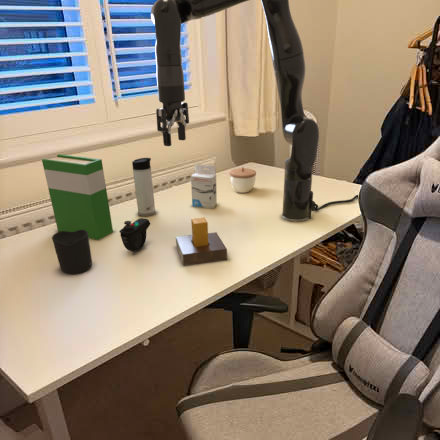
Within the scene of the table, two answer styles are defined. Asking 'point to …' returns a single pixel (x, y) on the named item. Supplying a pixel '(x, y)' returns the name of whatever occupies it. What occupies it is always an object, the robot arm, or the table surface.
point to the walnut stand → (201, 250)
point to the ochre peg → (199, 232)
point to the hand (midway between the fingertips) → (175, 142)
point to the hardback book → (78, 195)
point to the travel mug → (143, 186)
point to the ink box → (204, 186)
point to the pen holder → (73, 251)
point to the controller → (134, 234)
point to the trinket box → (242, 179)
